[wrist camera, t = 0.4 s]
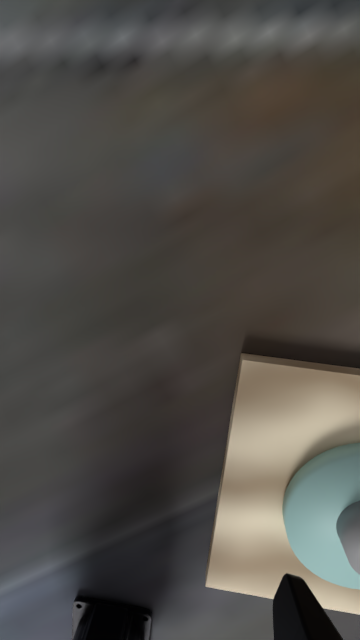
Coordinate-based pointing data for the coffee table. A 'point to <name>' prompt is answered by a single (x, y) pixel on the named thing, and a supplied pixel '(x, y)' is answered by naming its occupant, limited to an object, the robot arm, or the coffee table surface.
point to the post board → (277, 471)
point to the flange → (327, 515)
